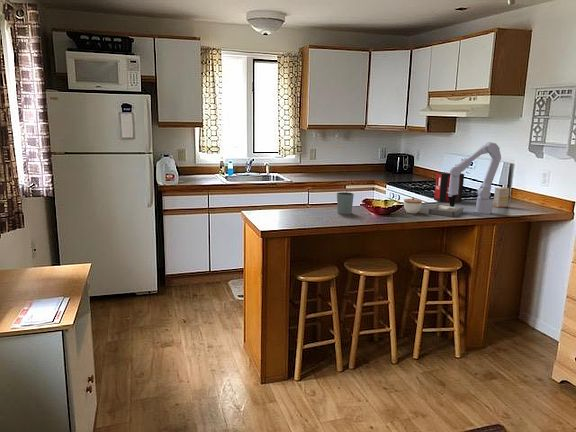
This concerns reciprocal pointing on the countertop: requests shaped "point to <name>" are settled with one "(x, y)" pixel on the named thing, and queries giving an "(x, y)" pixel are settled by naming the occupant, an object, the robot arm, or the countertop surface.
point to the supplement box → (501, 197)
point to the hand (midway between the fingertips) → (452, 206)
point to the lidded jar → (412, 205)
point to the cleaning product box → (446, 187)
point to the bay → (445, 213)
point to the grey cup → (344, 202)
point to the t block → (447, 208)
